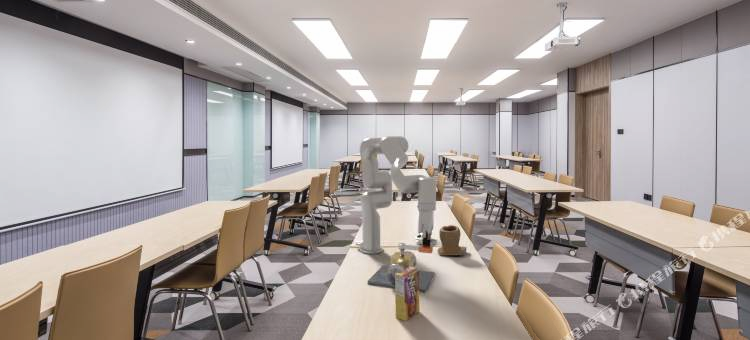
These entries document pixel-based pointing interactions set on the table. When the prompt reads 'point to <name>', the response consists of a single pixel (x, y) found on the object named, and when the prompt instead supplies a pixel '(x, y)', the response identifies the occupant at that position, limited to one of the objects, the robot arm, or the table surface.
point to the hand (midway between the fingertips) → (426, 248)
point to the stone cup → (450, 241)
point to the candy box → (407, 293)
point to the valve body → (397, 264)
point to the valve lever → (416, 248)
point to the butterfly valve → (420, 237)
